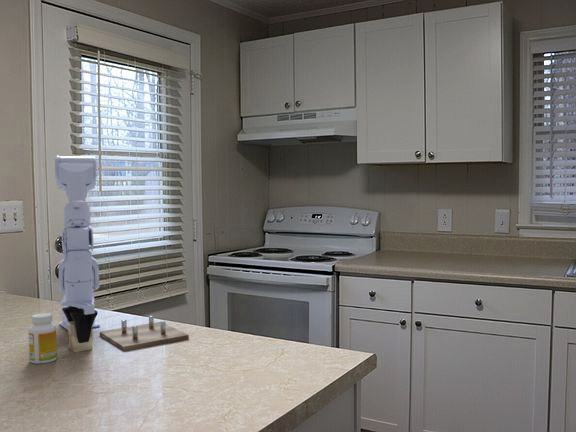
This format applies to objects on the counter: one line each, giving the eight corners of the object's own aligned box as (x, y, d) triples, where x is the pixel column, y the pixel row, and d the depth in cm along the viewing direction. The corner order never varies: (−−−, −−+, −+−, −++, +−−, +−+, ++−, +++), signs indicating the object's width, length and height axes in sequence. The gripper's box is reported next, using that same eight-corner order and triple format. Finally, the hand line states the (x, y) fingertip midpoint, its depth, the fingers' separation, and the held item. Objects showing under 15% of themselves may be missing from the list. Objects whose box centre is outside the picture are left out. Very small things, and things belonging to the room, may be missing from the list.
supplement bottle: (61, 356, 126) (60, 312, 125) (49, 364, 120) (47, 318, 120) (38, 356, 126) (36, 311, 126) (24, 363, 121) (22, 317, 120)
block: (69, 347, 132) (68, 321, 132) (86, 344, 135) (86, 319, 134) (74, 352, 129) (73, 325, 129) (92, 348, 131) (91, 322, 131)
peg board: (99, 335, 142) (99, 319, 142) (160, 325, 152) (160, 310, 152) (123, 351, 130) (123, 333, 129) (188, 338, 139) (188, 322, 139)
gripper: (51, 277, 134) (53, 335, 135) (70, 287, 123) (71, 350, 124) (82, 274, 139) (84, 331, 139) (103, 283, 127) (104, 344, 128)
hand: (80, 339), depth 132 cm, fingers closed on block, 4 cm apart
